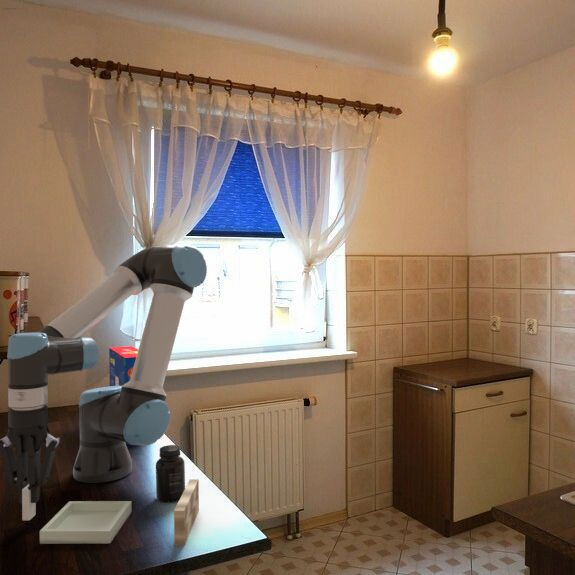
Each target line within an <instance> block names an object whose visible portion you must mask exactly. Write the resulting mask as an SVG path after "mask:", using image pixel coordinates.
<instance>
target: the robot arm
mask: <svg viewBox="0 0 575 575" xmlns="http://www.w3.org/2000/svg"><path fill="white" fill-rule="evenodd" d="M207 268H208V267H207V263H206V259H205V258H204V254H203V253H202V251H201V250H200V249H199V248H197V247H196V246H195V245H192V244H182V243H178V244H172V245H171V244H170V245H153V246H149V247H146V248H144V249H141V250H139V251H138V252H136V253H134V254H133V255H131V256H130V257H129V258H127V259H126V260H125V261H123V262H122V263H121V264H119V265H118V266H117V267H115V268H114V271H113V274H112V275H111V276H110V277H108V278H107V279H106V280H104V281H103V282H102V283H100V284H98V286H97V287H95V288H94V289H92V290H91V291H90V292H88V293H87V294H86V295H85V296H83V297H82V298H81V299H80V300H78V301H77V302H76V303H75V304H73V305H71V306H70V307H69V308H68V309H66V310H65V311H64V312H62V313H61V314H60V315H59V316H57V317H56V318H55V319H53V320H52V321H51V322H49V323H48V324H47V325H45V326H44V327H43V328H41V329H40V330H39V331H37V332H20V333H14V334H12V335H11V336H9V338H8V345H7V355H6V357H7V376H8V381H7V385H8V387H7V389H8V390H7V391H8V393H7V394H8V396H7V398H8V400H7V401H8V402H7V403H8V404H7V406H8V407H9V409H8V412H7V414H8V419H7V420H8V421H7V422H8V423H7V425H8V431H7V432H6V435H5V436H3V437H2V438H1V439H0V455H1V459H2V462H3V463H2V464H3V467H4V471H5V472H4V473H5V474H6V475H5V476H6V478H7V479H6V480H7V483H8V485H9V486H10V487H12V486H13V487H16V488H17V491H18V492H17V496H18V498H17V499H18V500H17V501H18V503H19V504H21V505H22V507H21V508H22V509H21V512H22V513H21V514H22V518H21V519H22V521H30V520H32V519H33V517H35V516H36V514H37V513H36V512H37V511H36V510H37V508H36V505H37V502H39V500H40V497H41V496H40V492H41V491H40V487H41V486H44V485H45V483H47V482H48V481H49V480H50V476H51V472H52V467H53V463H54V459H55V455H56V450H57V448H58V446H59V444H60V443H61V440H62V439H61V437H59V436H58V437H54V436H53V435H52V434H51V431H50V429H49V427H48V426H49V424H48V422H49V406H47V404H48V403H49V395H48V394H49V391H48V390H49V388H48V386H49V384H48V383H49V382H48V381H49V376H54V375H58V374H64V373H65V374H66V373H71V372H78V371H80V372H82V371H85V370H89V369H92V368H93V367H95V366H96V365H97V363H98V362H99V357H100V350H99V346H98V344H97V342H96V340H95V339H93V338H92V337H89V336H86V337H83V336H84V335H85V334H86V333H88V331H90V330H91V329H92V328H94V327H95V326H96V325H97V324H98V323H99V322H101V321H102V320H103V319H104V318H105V317H107V316H108V315H110V313H112V312H113V311H114V310H115V309H116V308H118V307H119V306H120V305H121V304H123V303H124V302H125V301H126V300H127V299H129V298H130V297H131V296H138V295H139V294H140V293H142V292H143V291H145V290H146V289H147V290H148V289H149V288H150V290H151V291H152V293H153V296H152V299H151V302H150V306H149V310H148V313H147V318H146V320H145V323H144V324H145V325H144V328H143V330H142V331H143V332H142V335H141V339H140V342H139V347H138V348H137V349H138V353H137V356H136V360H135V364H134V367H133V371H132V375H131V378H130V381H129V382H127V383H126V384H124V385H122V386H110V385H109V386H103V387H97V388H92V389H88V390H87V389H86V390H85V391H82V393H80V396H79V401H78V402H79V404H78V408H79V410H78V411H79V449H78V452H77V455H76V458H75V460H74V465H73V468H72V478H73V479H74V480H75V481H77V482H80V483H84V484H85V483H87V484H98V483H99V484H102V483H107V482H113V481H116V480H119V479H123V478H124V477H127V476H128V475H130V474H131V473H132V471H133V460H132V457H131V454H130V451H129V449H128V446H126V443H125V442H127V443H129V444H131V445H130V446H142V447H144V446H145V447H147V446H150V445H153V444H155V443H156V442H157V441H159V440H160V439H161V438H163V436H164V435H165V434H166V432H167V430H168V429H169V425H170V422H171V412H170V407H169V406H168V404H167V403H166V399H167V393H166V392H165V390H164V383H165V380H166V377H167V372H168V368H169V364H170V360H171V356H172V352H173V349H174V345H175V341H176V338H177V332H178V330H179V329H178V328H179V326H180V323H181V322H180V320H181V319H182V318H181V317H182V314H183V310H184V305H185V303H186V301H187V300H189V299H191V298H192V296H193V292H194V289H195V288H197V287H200V286H201V285H202V284H203V283H204V282H205V280H206V277H207V270H208V269H207ZM45 442H46V443H45ZM44 444H45V447H46V448H45V451H44V455H43V459H42V464H41V452H42V446H43V445H44ZM12 445H13V446H14V448H15V451H14V449H13V446H12ZM14 452H15V453H14Z"/></svg>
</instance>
